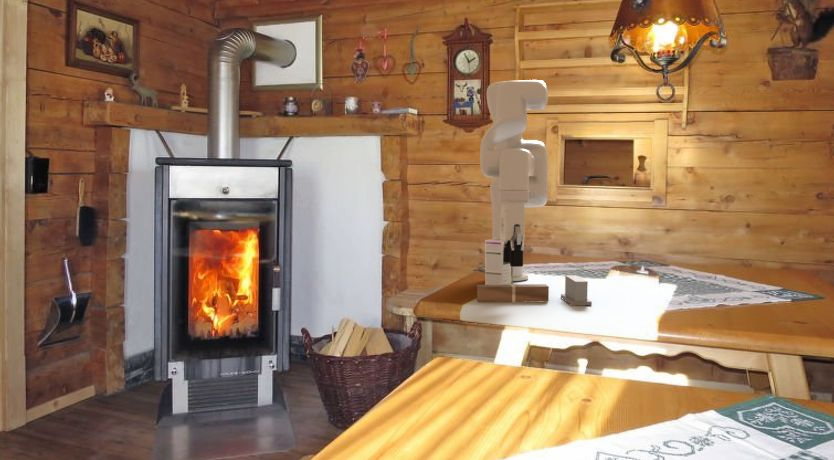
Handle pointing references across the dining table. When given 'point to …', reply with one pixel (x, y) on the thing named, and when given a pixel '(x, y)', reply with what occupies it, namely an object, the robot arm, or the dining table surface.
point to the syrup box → (496, 264)
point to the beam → (512, 293)
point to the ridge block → (576, 291)
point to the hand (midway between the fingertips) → (512, 264)
